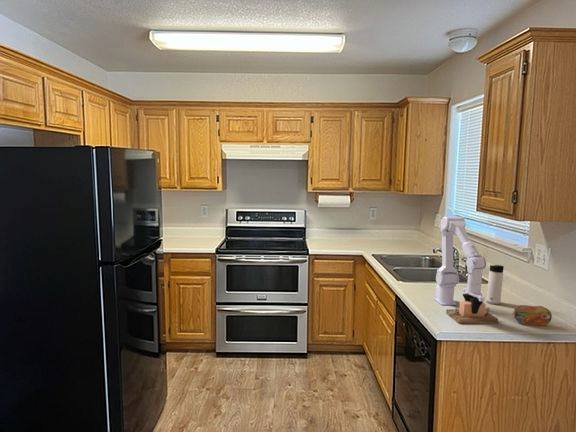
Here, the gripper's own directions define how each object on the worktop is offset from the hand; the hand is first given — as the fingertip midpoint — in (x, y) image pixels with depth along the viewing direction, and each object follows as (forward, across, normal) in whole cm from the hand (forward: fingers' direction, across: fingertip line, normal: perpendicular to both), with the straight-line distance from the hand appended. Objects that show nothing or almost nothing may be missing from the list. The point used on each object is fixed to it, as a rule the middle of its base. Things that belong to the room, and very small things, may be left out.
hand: (471, 311), depth 186 cm
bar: (+2, 0, 0) cm, 2 cm away
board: (+3, 0, 0) cm, 3 cm away
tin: (+3, +7, +24) cm, 25 cm away
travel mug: (+3, -20, +23) cm, 31 cm away
